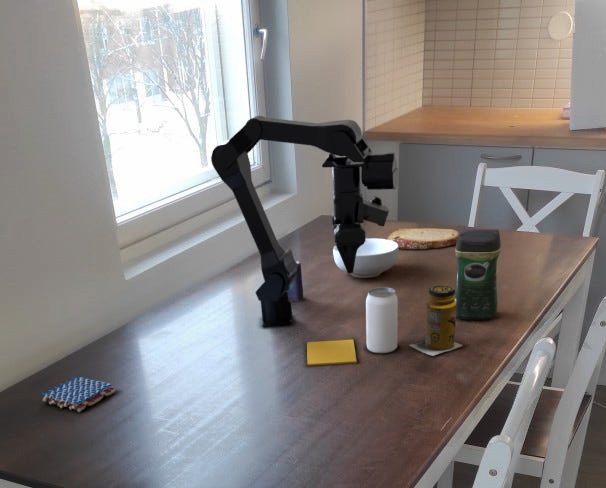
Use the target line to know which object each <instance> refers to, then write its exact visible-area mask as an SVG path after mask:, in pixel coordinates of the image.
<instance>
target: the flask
mask: <svg viewBox="0 0 606 488" xmlns="http://www.w3.org/2000/svg"><path fill="white" fill-rule="evenodd" d="M295 262H296V263H297V264H298V266H297V267H296V268H297V277H296V279H295V281H294V282H293V283H292V284H291V285H290V288H289V290H287V291H286V292H288V299H291V301H297V302H298V301H303V300H304V286H303V276H302V275H303V274H302V263H301V262H300V261H298V260H297V261H296V260H295Z"/></svg>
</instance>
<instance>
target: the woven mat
mask: <svg viewBox="0 0 606 488" xmlns="http://www.w3.org/2000/svg"><path fill="white" fill-rule="evenodd" d="M59 385H60V386H53V388H54V389H48V390H47V391H48V392H42V393H41V396H43V397H42V402H44V403H48V404H49V405H50V406H51V405H56V406H57V407H59V408H60V409H63V408H69V410H70V411H72V410H74V411H77V412H78V413H81V412H82V411H83V410H84V409H85V408H87V407H88V406H89V407H90V406H93V405H95V404H96V403H99V402H100V401H101V400H102V399H103V398H105V397H108V396H111V395H113V394H115V393H116V389H115V388H114V387H113V384H112V383H108V382H105V381H104V382H103V381H100V380H96V379H91V378H86V377H83V376H82V377H81V376H77V377H71V380H70V379H69V380H66V381H65V383H59Z"/></svg>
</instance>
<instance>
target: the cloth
mask: <svg viewBox="0 0 606 488" xmlns="http://www.w3.org/2000/svg"><path fill="white" fill-rule="evenodd" d="M306 354H307V356H306V358H307V359H306V360H307V366H308V367H311V366H325V365H326V366H327V365H329V366H330V365H342V364H343V365H344V364H356V363H358V361H357V355H356V347H355V342H354V339H337V340H322V341H320V340H319V341H308V342H306Z"/></svg>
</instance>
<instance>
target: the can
mask: <svg viewBox="0 0 606 488" xmlns="http://www.w3.org/2000/svg"><path fill="white" fill-rule="evenodd" d="M396 292H397V290H396V289H395V288H392V287H388V286H387V287H386V286H380V287H373V288H371V289H369V290H367V296H366V298H365V330H366V331H365V334H366V336H365V338H366V348H367V350H368V351H370V352H371V353H373V354H382V355H383V354H390V353H392V352H395V350H396V349H397V348H398V337H399V335H398V334H399V333H398V332H399V331H398V330H399V329H398V327H399V322H398V321H399V314H398V313H399V312H398V311H399V303H398V295H397V294H396Z"/></svg>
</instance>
